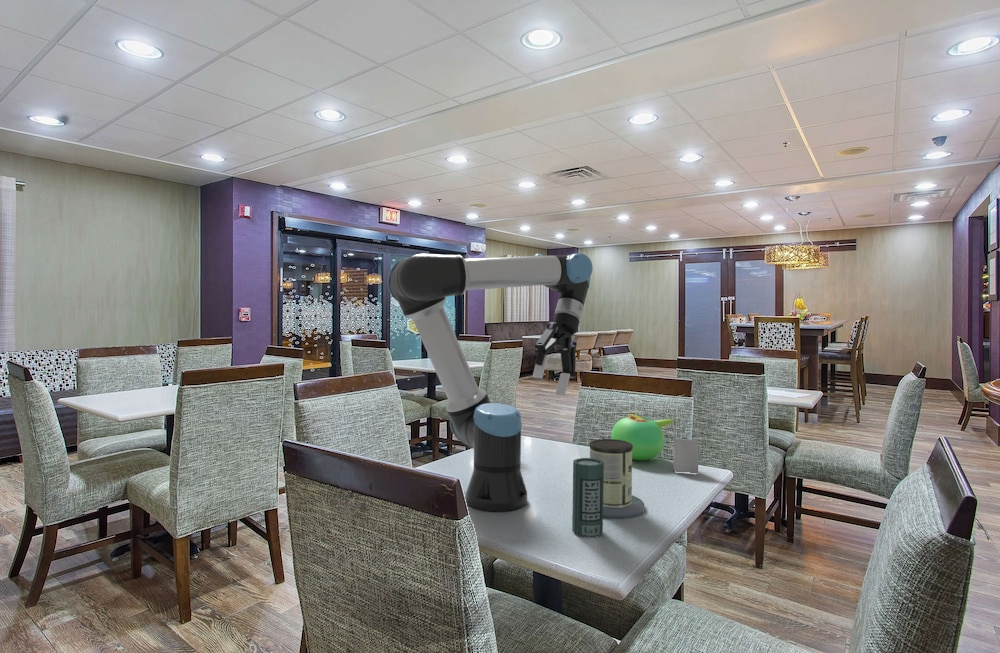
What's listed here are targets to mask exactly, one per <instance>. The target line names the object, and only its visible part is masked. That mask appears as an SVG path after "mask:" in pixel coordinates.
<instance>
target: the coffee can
mask: <svg viewBox="0 0 1000 653" xmlns="http://www.w3.org/2000/svg"><path fill="white" fill-rule="evenodd" d="M632 448H633V445H632V444H631V443H629V442H626V441H622V440H615V439H612V438H610V439H609V438H602V439H601V438H600V439H593V440H591V441H589V458H593V459H598V460H601V461H602V462H603V463H604V476H603V507H605V508H624V507H628V506H630V505H631V504H632V494H633V492H632V491H633V488H632V487H633V486H632V485H633V482H632V480H633V459H632Z"/></svg>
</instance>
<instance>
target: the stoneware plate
mask: <svg viewBox="0 0 1000 653" xmlns="http://www.w3.org/2000/svg"><path fill="white" fill-rule="evenodd" d="M643 513H645V503H644V501H643V500H642V499H641V498H639V497H638V496H634V495H632V504H631V505H630V506H628V507H624V508H605V507H603V519H604V518H606V519H615V520H616V519H631V518H634V517H637V516H641V515H642V514H643Z"/></svg>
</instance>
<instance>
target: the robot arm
mask: <svg viewBox="0 0 1000 653" xmlns="http://www.w3.org/2000/svg"><path fill="white" fill-rule="evenodd" d="M593 270H594V269H593V263H592V260H591V258H590V257H589V256H588V255H587V254H584V253H580V252H579V253H577V252H576V253H571V254H559V255H558V254H557V255H544V254H542V253H536V254H534V256H533V255H531V256H510V257H509V256H506V257H505V256H504V257H502V256H501V257H487V258H486V257H484V258H483V257H482V258H481V257H480V258H464V257H463V256H462V255H461V254H435V253H418V254H414V255H412V256H409V257H406V258H402V259H400V260H399V261H397V262H396V263H395V264H394V265H393V266H392V267H391V268H390V270H389V272H388V275H387V282H386V283H387V289H388V292H389V293H390V296H392V297H393V299H394V300H396V302H398V304H399V307H400V310H401V311H402V313H403V315H404V317H405V318H407V319H410V320H412V321H413V324H414V325H415V329H416V331H417V332H418V335H419V337H420V339H421V342H422V344H423V346H424V348H425V350H426V352H427V356H428V357H429V359H430V362H431V364H432V366H433V368H434V371H435V373H436V375H437V377H438V380H439V382H440V384H441V386H442V388H443V390H444V393H445V395H446V398H447V400H448V402H447V405H446V407H445V409H446V410H445V411H447V414H448V416H449V427H450V431H451V432H452V434H453V436H454V437H455V438H456V439H457V440H458V441H459V442H461V443H462V444H464V445H465V446H466V445H467V446H468V447H470V448H472V449H473V470H472V474H471V478H470V480H469V483H468V487H467V489H466V496H465V497H466V499H465V501H467V502H466V504H467V505H468V506H469V507H472V508H474V509H477V510H481V511H486V512H509V511H514V510H518V509H521V508H523V507H525V506H526V504H527V503H528V490H527V488H526V484H525V481H524V477H523V474H522V471H521V470H522V469H521V457H522V456H521V455H522V452H521V451H522V427H523V424H522V419H521V418H522V416H521V413H520V411H519V409H517V408H516V407H514V406H513V405H509V404H504V403H498V402H497V403H495V402H491V399H490V398H489V396H488V393H487V391H486V390H485V389H482V388H479V385H477V381H476V380H475V377H474V375H473V373H472V370H471V369H470V366H469V363H468V361H467V358H466V356H465V354H464V352H463V350H462V347H461V345H460V342H459V340H458V338H457V336H456V333H455V332H454V328H453V326H452V324H451V322H450V320H449V317H448V315H447V313H446V309H445V307H444V306H445V304H446V301H447V297H451V296H453V297H454V296H462V295H464V294H465V293H466V292H467V291H473V290H474V291H478V290H490V289H491V290H494V289H505V288H518V287H533V286H544V287H546V288H548V289H550V290H551V291H554V292H556V293H557V294H559V296H558V299H557V300H558V301H557V302H556V303H557V304H556V307H555V310H554V315H553V317H552V318H553V319H552V322H548V323H547V326H546V328H545V330H544V331H543V333H542V334H541V335H540V337H539V339H538V340H537V341H536V343H535V345H534V349H535V350H534V353H535V354H537V356H536V360H535V365H534V369H533V373H532V378H534V379H543V377H544V373H545V369H546V365H547V362H548V358H549V355H548V353H549V352H550V351H551V350H552V349H553V348H555V347H556V348H557V349H558V352H559V353H560V361H561V369H562V372H561V373H559V374H560V375H559V378H558V383H557V386H556V390H555V395H556V396H561V397H565V396H566V393H567V388H568V384H569V381H570V378H571V376H575V375H576V359H577V358H576V349H577V344H578V343H577V341H576V340H573V338H572V337H573V335H574V334H577V333H578V329H579V328H580V327H579V326H580V322H581V321H580V320H581V318H582V314H583V313H582V312H583V310H584V305H585V302H586V299H587V298H586V297H587V295H588V292H589V288H590V283H591V276H592V273H593Z"/></svg>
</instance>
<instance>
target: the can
mask: <svg viewBox="0 0 1000 653" xmlns="http://www.w3.org/2000/svg"><path fill="white" fill-rule="evenodd" d="M572 465H573V467H572V529H571V530H572V532H573V534H574V535H577V536H578V537H582V538H586V539H587V538H588V539H589V538H591V539H592V538H597V537H600V536H602V535H603V532H604V529H603V526H604V523H603V522H604V517H603V476H604V463H603V462H602V461H601V460H598V459H593V458H590V457H580V458H576V459H573V463H572Z"/></svg>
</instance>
